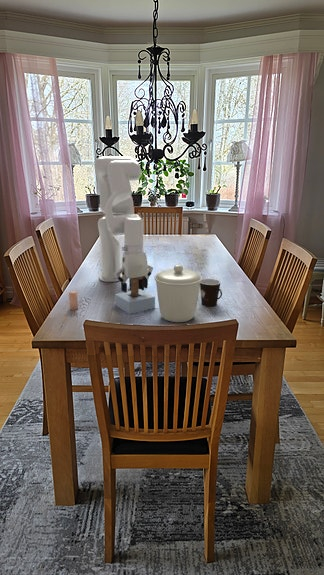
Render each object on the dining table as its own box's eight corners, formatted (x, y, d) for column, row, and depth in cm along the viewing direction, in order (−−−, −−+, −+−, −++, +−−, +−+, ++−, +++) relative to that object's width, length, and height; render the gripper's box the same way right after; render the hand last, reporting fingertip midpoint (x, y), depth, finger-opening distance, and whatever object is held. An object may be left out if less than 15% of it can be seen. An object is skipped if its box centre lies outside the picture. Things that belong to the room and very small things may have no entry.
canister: (194, 307, 164) (196, 258, 158) (206, 325, 147) (208, 270, 141) (151, 310, 162) (151, 259, 155) (157, 328, 145) (157, 272, 138)
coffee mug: (197, 300, 172) (198, 278, 169) (217, 300, 173) (218, 278, 170) (201, 310, 161) (202, 287, 158) (222, 310, 162) (224, 287, 159)
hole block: (115, 305, 167) (115, 293, 165) (140, 299, 173) (139, 288, 172) (129, 314, 157) (129, 302, 156) (155, 308, 164) (154, 296, 162)
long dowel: (133, 308, 163) (133, 278, 159) (129, 306, 166) (129, 276, 161) (140, 307, 165) (139, 277, 161) (136, 304, 167) (135, 275, 163)
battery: (129, 288, 188) (129, 267, 185) (143, 287, 189) (143, 267, 186) (129, 291, 184) (129, 270, 181) (144, 290, 185) (144, 270, 182)
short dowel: (68, 308, 163) (67, 292, 161) (76, 306, 165) (75, 290, 163) (71, 310, 161) (70, 294, 159) (79, 308, 163) (78, 292, 160)
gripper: (119, 253, 150) (120, 296, 155) (157, 247, 159) (157, 288, 164) (110, 249, 156) (111, 290, 161) (147, 244, 165) (147, 283, 170)
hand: (134, 289), depth 163 cm, fingers open, 9 cm apart
